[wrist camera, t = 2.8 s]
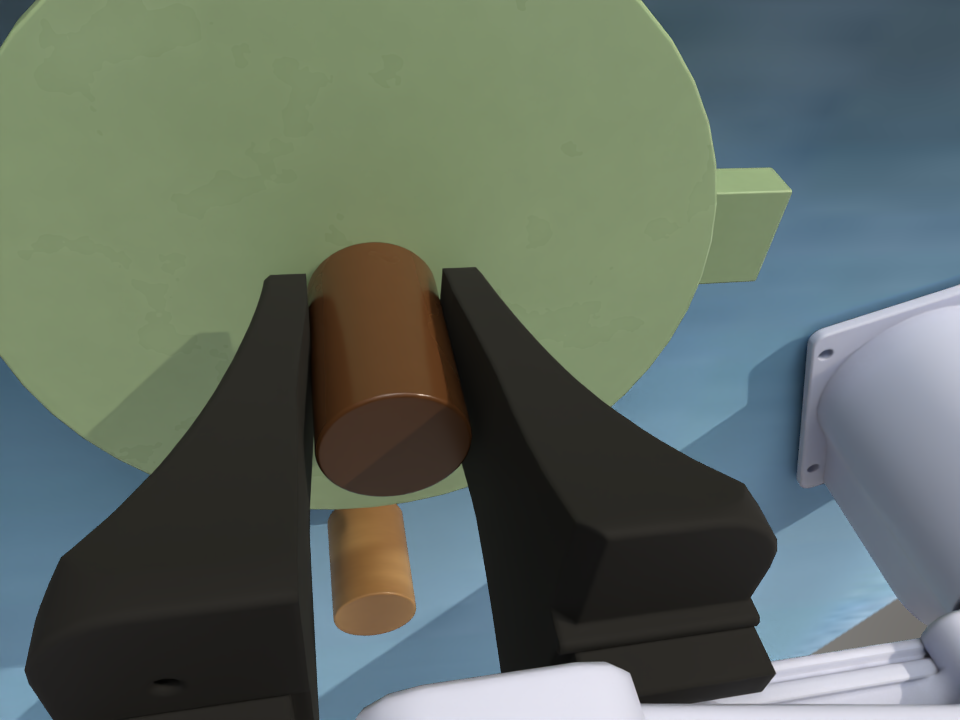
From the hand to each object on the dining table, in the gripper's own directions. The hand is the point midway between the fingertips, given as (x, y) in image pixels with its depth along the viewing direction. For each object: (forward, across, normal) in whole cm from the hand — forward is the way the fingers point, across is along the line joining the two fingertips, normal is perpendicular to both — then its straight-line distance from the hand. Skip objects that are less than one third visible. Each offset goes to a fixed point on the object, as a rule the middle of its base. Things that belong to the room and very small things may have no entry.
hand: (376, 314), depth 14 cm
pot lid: (+1, 0, 0) cm, 1 cm away
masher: (+7, 0, +12) cm, 14 cm away
